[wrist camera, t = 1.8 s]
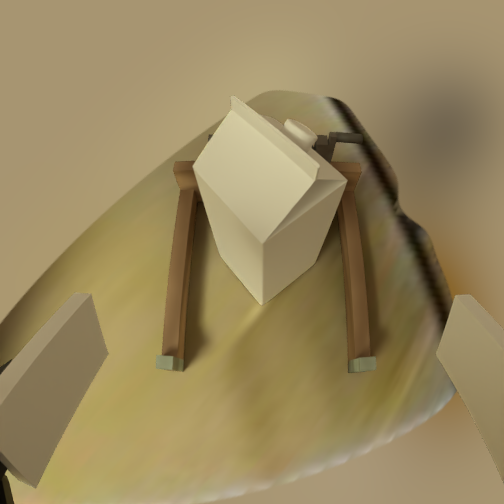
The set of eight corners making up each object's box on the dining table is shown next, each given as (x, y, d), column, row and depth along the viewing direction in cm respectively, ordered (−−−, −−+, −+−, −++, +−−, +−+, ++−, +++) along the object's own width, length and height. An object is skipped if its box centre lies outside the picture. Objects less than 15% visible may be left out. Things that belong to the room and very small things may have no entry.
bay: (168, 370, 29) (124, 362, 19) (187, 187, 37) (165, 124, 27) (362, 371, 28) (409, 364, 18) (346, 189, 36) (369, 126, 27)
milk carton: (261, 307, 31) (261, 206, 14) (219, 255, 34) (179, 123, 16) (314, 264, 33) (364, 136, 15) (271, 217, 35) (276, 74, 18)
